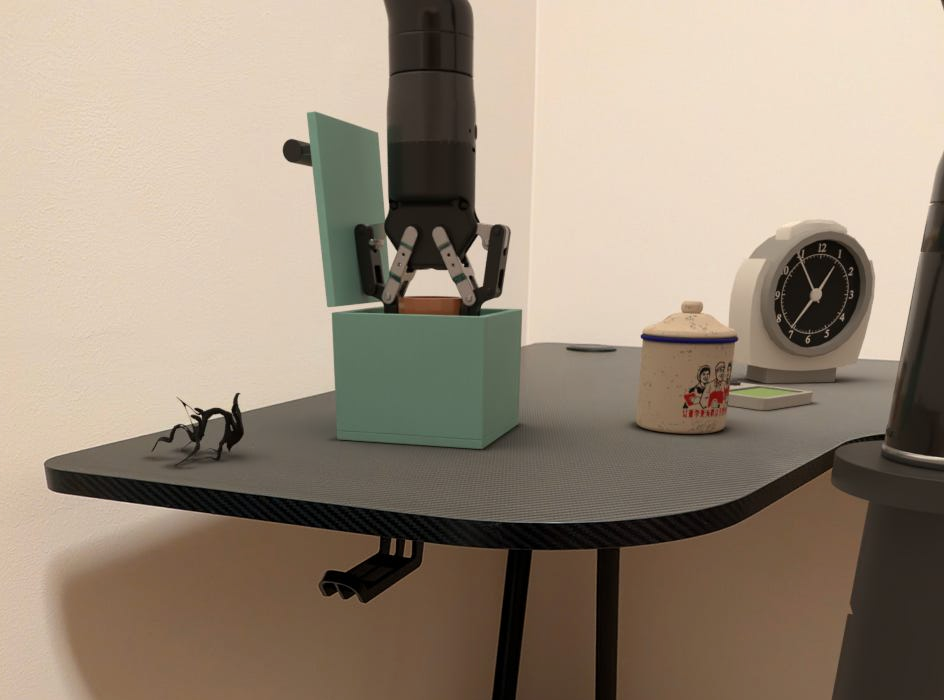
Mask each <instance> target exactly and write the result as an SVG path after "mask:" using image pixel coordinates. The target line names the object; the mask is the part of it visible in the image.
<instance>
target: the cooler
mask: <svg viewBox="0 0 944 700" xmlns="http://www.w3.org/2000/svg"><path fill="white" fill-rule="evenodd" d="M331 327H332V351H333V372H334V393H335V394H334V396H335V417H336V418H335V421H336V422H335V423H336V439H337V440H338V441H339V440H340V441H353V442H369V443H381V444H382V443H384V444H398V445H412V446H427V447H440V448H441V447H442V448H456V449H473V450H484V449H485V448H486V447H487V446H489V445H490V444H492V443H493V442H495V441H496V440H498V439H499V438H500V437H502V436H504V435H505V434H506V433H507V432H509V431H510V430H512V429H514V428H515V427H516V426H518V425H519V422H520V421H519V418H520V417H519V415H520V389H521V359H522V358H521V357H522V330H523V309H522V308H499V307H498V308H497V307H495V308H494V307H493V308H492V307H481V316H452V315H417V314H384V305H382V306H374V307H367V308H360V309H359V308H358V309H351V310H341V311H333V312H331Z"/></svg>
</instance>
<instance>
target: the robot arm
mask: <svg viewBox="0 0 944 700" xmlns="http://www.w3.org/2000/svg"><path fill="white" fill-rule="evenodd" d="M382 1H383V5H384V8H385V14H386V18H387V44H388V45H387V47H388V48H387V50H388V51H387V52H388V89H387V98H386V99H387V100H386V154H387V155H386V156H387V157H386V159H387V160H386V161H387V162H386V163H387V199H388V212H387V214H386V216H385V222H384V223H379V224H373V225H368V224H358V225H357V226H356V227H355V230H354V232H355V239H356V246H357V252H358V259H359V266H360V272H361V279H362V286H363V291H364V293H365V294H366V295H367V296H372V297H375V298H377V299H379V300H380V301H381V303H382V306H384V314H398V297H401V296H406V293H407V291H408V288H409V286H410V283H411V282H412V281H413V280H414V278H415V276H416V274H417V271H428V270H431V269H432V270H435V271H447V272H448V274H449V276H450V278H451V280H452V282H453V283H454V284H455V286H456V289H457V291H458V294H459V297H461V298H462V301H463V307H460V316H481V308H482V306H483V304H485V303H486V302H488V301H491V300H493V299H498V298H500V297H501V296H502V294H503V290H504V289H503V288H504V282H505V277H506V268H507V263H508V256H509V250H510V249H509V247H510V242H511V234H512V230H511V227H509V226H508V225H506V224H501V223H498V224H491V223H489V224H488V223H483V222H480V219H479V216H478V214H477V212H476V164H477V163H476V161H477V139H478V125H477V104H476V95H475V86H474V85H475V80H474V78H475V77H474V76H475V75H474V74H475V70H474V69H475V19H474V11H473V7H472V5H471V3H470V1H469V0H382ZM940 4H941V6H942V10H943V11H944V0H940ZM932 183H933V184H932V188H931V194H930V199H929V204H930V205H929V206H928V209H927V214H926V219H925V225H924V231H923V236H922V241H921V248H920V253H919V257H918V263H917V267H916V273H915V278H914V283H913V288H912V294H911V300H910V305H909V309H908V310H909V311H908V314H907V315H908V316H907V320H906V326H905V330H904V336H903V341H902V347H901V352H900V357H899V363H898V366H897V367H898V368H897V373H896V379H895V383H894V389H893V393H892V394H893V395H892V398H891V405H890V410H889V415H888V416H889V417H888V420H887V424H886V427H885V437H884V441H883V440H882V441H883V444H882V450H881V456H883V457H884V458H886V459H888V460H890V461H893V462H896V463H899V464H903V465H908V466H912V467H918V468H923V469H930V470H937V471H944V150H943V151H942V154H941V156H940V158H939V160H938V164H937V166H936V169H935V174H934V177H933V182H932ZM386 236H387V239H388V240H389V241H390V243H391V245H392V246H393V248H394V249H395V250H396V254H395V257H394V259H393V261H392V263H391V266H390V268H389V278H388V281H387V283H386V284H384V277H383V270H382V263H381V255H380V249H382V248H383V246H384V238H385V237H386ZM478 236H479V237H480V239H481V246H482V248H483V249H484V251H486V252H487V253H486V258H485V259H486V260H485V267H484V275H483V281H482V286H479V284H478V281H477V279H476V273H475V270H474V268H473V266H472V265H473V264H472V263H471V261H470V258H469V255H468V254H467V253H468V252H469V250H470V248H471V247H472V246H473V244H474V242H475V241H476V240H477V238H478Z"/></svg>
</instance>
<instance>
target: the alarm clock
mask: <svg viewBox="0 0 944 700" xmlns="http://www.w3.org/2000/svg"><path fill="white" fill-rule="evenodd" d="M875 286H876V273H875V269H874V263H873V259H869V257H868V255H867V253H866V250H865V248H864V247H863V246H862V244H860V243H859V241H858V240H857V239H856V238H855V237H853V236H852V235H850V234H849V233H848V229H847V227H846V226H844V225H842V224H841V223H839V222H837V221H836V220H831V219H823V218H818V219H801V220H798V219H797V220H791V221H789V222H787V223H785V224H782V225H781V226H778V227H777V229H776V231H775V234H774V235H773V236H770V237H768V238H767V239H765V240H764V241H763V242H762V243H761V244H759V245H758V246H757V247H756V248H755V249H754V250H753V251H752V253H751V254H750V256H749V257H748V258H743V259H742V261H741V262H740V265H739V267H738V269H737V271H736V273H735V275H734V279H733V284H732V288H731V293H730V299H729V309H728V310H729V311H728V327H730V328H732V329H735V330H736V332H737V337H738V341H737V342H735V348H734V356H733V363H739V364H744V365H747V368H746V375H745V379H747V380H751V381H755V382H758V383H763V384H794V383H795V384H797V383H798V384H799V383H801V384H802V383H834V382H835V379H836V374H837V369H838V368H841V367H846V366H850V365H854V364H857V362H858V360H859V356H860V354H861V351H862V349H863V348H862V347H863V344H864V341H865V338H866V335H867V330H868V326H869V322H870V319H871V314H872V309H873V304H874V299H875V289H876V287H875Z"/></svg>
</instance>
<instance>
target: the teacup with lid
mask: <svg viewBox="0 0 944 700" xmlns="http://www.w3.org/2000/svg"><path fill="white" fill-rule="evenodd" d="M680 310H681V312H676V313H672V314H670V315H668V316H666V317H665V318H664V319H662V320H661V321H659V322H657V323H653V324H651V325H648V326H646V327H644V328H643V329H642V330H641V331H642V333H641V334H640V339H642V346H641V355H640V357H641V359H640V370H639V381H638V393H637V403H636V404H637V406H636V417H635V423H636V425H637V426H639V427H640V428H642V429H645V430H648V431H653V432H659V433H668V434H683V435H698V434H699V435H700V434H701V435H703V434H712V433H716V432H720V431H721V430H723V429H724V428H725V427H726V420H727V413H728V406H729V405H728V398H729V389H730V381H731V380H732V371H733V364H734V361H733V356H734V348H735V342H737V341H738V337H737V332H736V330H735V329H732V328H730V327H729V326H727V325H725V324H723V323H721V322H720V321H719V320H718V319H717V318H715V316H713V315H711V314H709V313H704V312H703V310H704V304H703V302H702V301H700V300H698V301H697V300H685V301H683V302H682V303H681V305H680Z"/></svg>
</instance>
